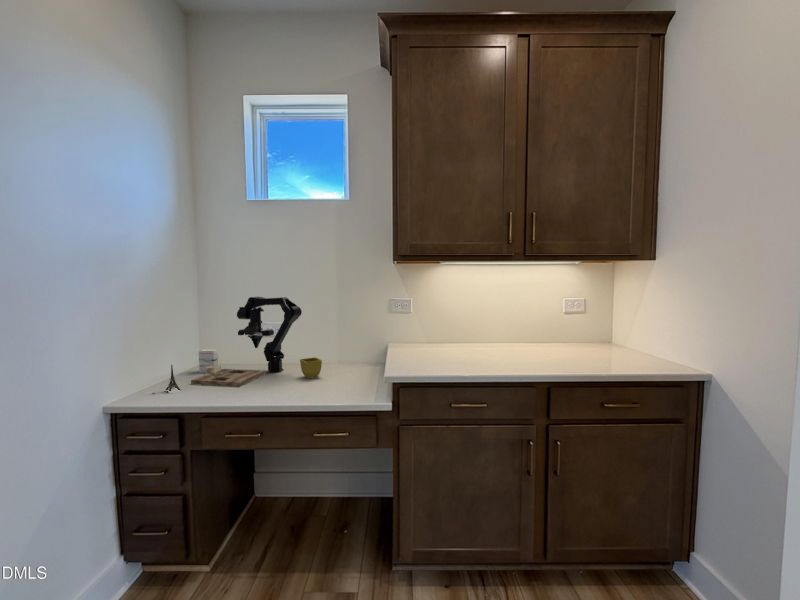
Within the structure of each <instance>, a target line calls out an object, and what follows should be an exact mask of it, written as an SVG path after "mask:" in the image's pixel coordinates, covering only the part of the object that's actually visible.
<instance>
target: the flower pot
mask: <svg viewBox="0 0 800 600" xmlns="http://www.w3.org/2000/svg"><path fill="white" fill-rule="evenodd" d="M299 362H300V369H301V372H302V375H303V376H304V377H306V379H311V378H312V377H313V378H318V376H319V375H320V374H321V370H322V364H323V363H322V362H323V359H320V358H318V357H315V356H314V357H307V358H300V359H299Z"/></svg>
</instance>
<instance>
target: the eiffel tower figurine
mask: <svg viewBox="0 0 800 600" xmlns="http://www.w3.org/2000/svg"><path fill="white" fill-rule="evenodd" d="M170 366H171V367H170V372H171V373H170V375H171V376H170V379H169V383H168V386H166V388H165V390H169V391H171V389H174V388H177V389H178V390H180V391H181V388H180V387H179V386H178V384H177V383H176V378H175V376H174V369H173V366H174V365H173V364H171V365H170Z"/></svg>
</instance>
